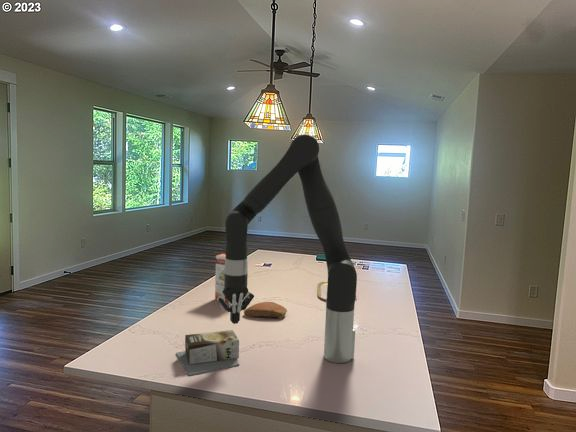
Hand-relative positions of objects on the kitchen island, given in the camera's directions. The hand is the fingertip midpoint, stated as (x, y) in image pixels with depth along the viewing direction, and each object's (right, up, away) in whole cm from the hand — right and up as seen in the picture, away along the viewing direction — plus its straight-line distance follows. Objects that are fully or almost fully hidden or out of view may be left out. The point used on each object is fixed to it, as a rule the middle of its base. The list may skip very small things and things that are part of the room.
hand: (235, 322), depth 139 cm
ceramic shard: (+9, -7, +39) cm, 41 cm away
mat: (-9, -11, -3) cm, 14 cm away
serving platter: (+42, -4, +75) cm, 86 cm away
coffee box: (0, -7, +2) cm, 7 cm away
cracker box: (-9, -4, +56) cm, 57 cm away
